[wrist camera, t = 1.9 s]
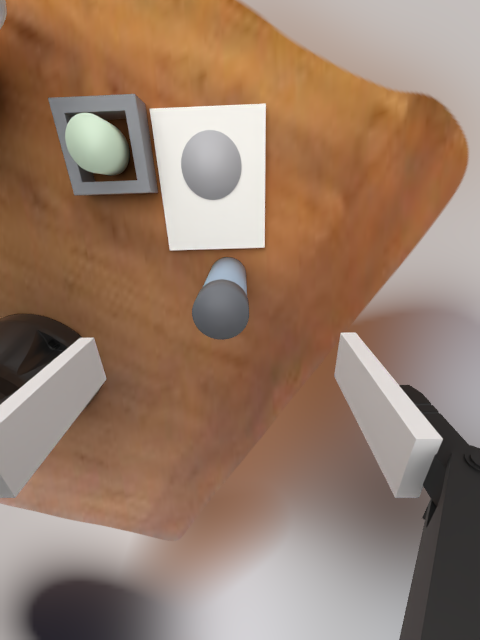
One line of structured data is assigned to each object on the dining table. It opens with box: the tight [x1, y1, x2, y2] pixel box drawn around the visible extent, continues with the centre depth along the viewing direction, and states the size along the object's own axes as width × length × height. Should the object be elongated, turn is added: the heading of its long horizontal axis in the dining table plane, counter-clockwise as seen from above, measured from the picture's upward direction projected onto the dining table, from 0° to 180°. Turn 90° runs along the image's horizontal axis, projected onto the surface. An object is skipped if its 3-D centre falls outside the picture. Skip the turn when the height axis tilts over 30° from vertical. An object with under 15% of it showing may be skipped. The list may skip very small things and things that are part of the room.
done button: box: [65, 113, 130, 176], centre depth 22 cm, size 4×4×3 cm
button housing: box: [48, 94, 158, 195], centre depth 23 cm, size 7×7×2 cm
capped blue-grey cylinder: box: [192, 257, 249, 339], centre depth 24 cm, size 4×4×11 cm
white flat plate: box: [150, 104, 266, 250], centre depth 25 cm, size 10×12×1 cm
